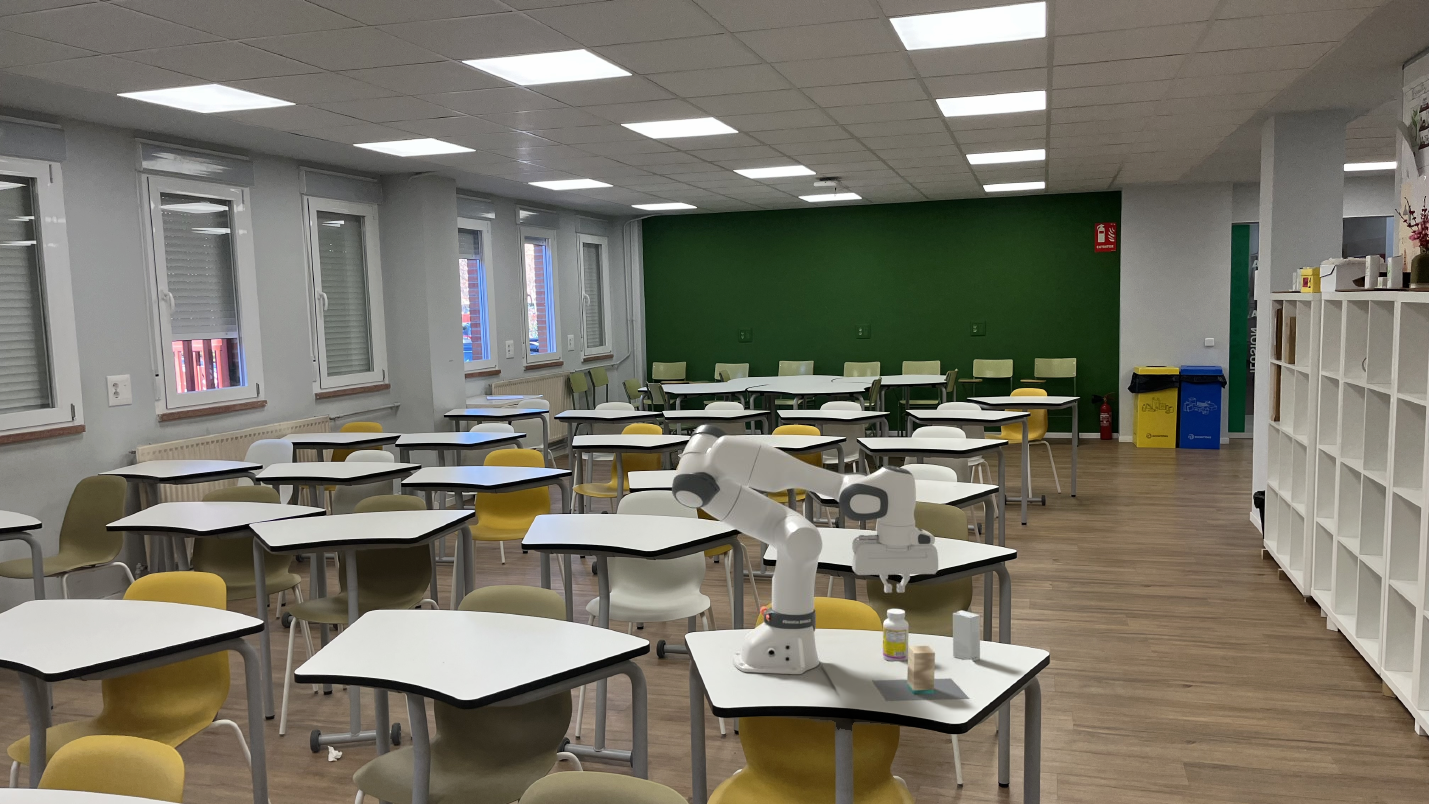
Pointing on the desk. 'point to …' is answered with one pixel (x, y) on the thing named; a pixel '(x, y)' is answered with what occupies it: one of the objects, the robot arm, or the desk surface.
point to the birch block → (921, 669)
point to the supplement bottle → (895, 636)
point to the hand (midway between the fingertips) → (894, 592)
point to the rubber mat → (901, 692)
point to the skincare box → (966, 635)
